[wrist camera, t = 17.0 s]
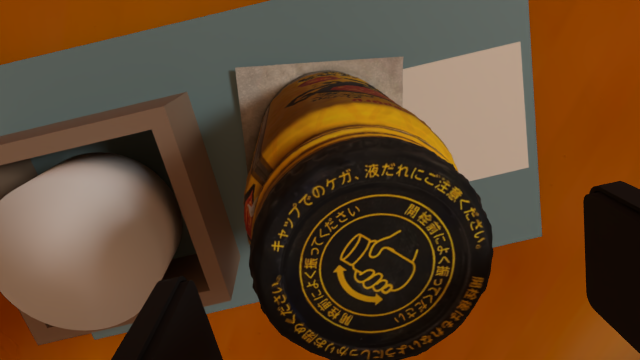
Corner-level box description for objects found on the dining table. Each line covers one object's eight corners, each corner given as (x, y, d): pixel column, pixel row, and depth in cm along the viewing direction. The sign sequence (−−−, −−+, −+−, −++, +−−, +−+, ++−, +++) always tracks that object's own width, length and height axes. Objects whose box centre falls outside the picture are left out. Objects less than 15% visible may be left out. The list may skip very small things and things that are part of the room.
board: (529, 226, 24) (588, 275, 19) (103, 325, 24) (58, 396, 20) (510, -55, 19) (581, -82, 15) (-17, 71, 20) (-113, 84, 15)
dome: (200, 266, 19) (184, 309, 16) (69, 296, 19) (28, 346, 16) (153, 136, 17) (125, 159, 14) (7, 171, 18) (-52, 201, 14)
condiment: (402, 55, 19) (561, 95, 8) (401, 230, 22) (519, 442, 11) (235, 66, 19) (156, 124, 8) (256, 242, 22) (220, 474, 10)
